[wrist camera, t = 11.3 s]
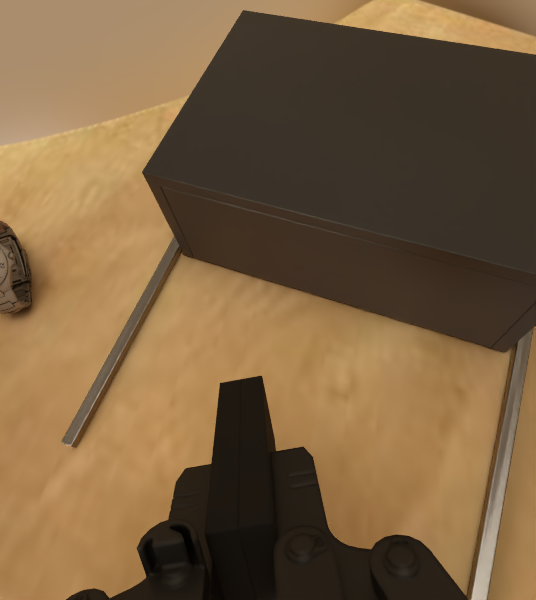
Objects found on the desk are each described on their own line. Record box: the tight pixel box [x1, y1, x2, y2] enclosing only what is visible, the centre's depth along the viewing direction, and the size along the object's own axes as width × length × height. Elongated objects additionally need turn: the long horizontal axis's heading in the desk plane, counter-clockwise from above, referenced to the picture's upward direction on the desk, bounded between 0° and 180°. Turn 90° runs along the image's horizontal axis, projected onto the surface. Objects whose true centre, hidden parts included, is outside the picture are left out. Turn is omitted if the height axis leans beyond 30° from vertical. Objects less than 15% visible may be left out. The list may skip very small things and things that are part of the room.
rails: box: [62, 236, 533, 600], centre depth 27 cm, size 22×23×1 cm
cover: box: [142, 10, 536, 352], centre depth 27 cm, size 20×13×8 cm, turn 68°
